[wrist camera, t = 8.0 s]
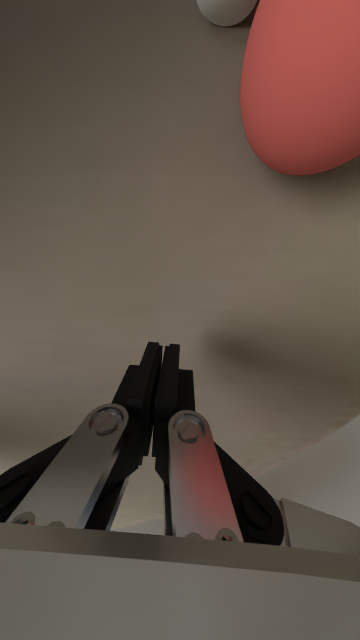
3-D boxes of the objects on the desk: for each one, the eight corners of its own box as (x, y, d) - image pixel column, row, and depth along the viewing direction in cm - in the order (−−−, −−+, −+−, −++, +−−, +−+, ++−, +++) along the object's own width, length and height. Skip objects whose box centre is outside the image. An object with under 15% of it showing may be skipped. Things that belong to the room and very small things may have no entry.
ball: (260, -14, 7) (192, 145, 9) (631, -816, 2) (294, -54, 3) (346, 100, 9) (281, 216, 11) (651, -127, 4) (441, 173, 5)
